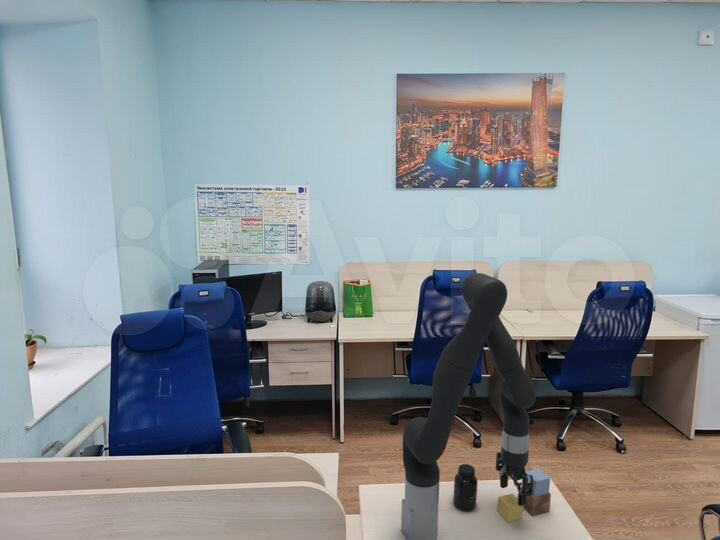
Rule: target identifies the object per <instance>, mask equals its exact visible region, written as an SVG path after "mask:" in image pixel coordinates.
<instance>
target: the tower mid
mask: <svg viewBox="0 0 720 540" xmlns="http://www.w3.org/2000/svg"><path fill="white" fill-rule="evenodd" d="M525 472H526V474H527V475H532V476H533V496H534V497H537V496H541V495H545V494H549V493H550V484H551V478H550V476H549V475H548V474H546V473H544V471H542V470H541V468H537V469H533V470H532V469H531V470H528V471H526V470H525ZM528 491H529V489H528Z"/></svg>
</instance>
